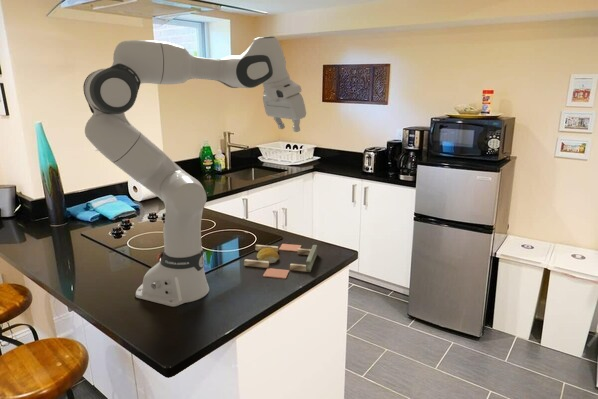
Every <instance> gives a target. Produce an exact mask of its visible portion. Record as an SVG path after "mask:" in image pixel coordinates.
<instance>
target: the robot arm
mask: <svg viewBox="0 0 598 399" xmlns="http://www.w3.org/2000/svg"><path fill="white" fill-rule="evenodd" d="M282 48H283V47H282V46H281V43H280V41H279V39H278V38H277V37H275V36H271V35H270V36H260V37H256V38H254V39H252V43H251V44H250V45H249V47H248V48H247V49H246V50H245V51H244V52H243V53H241V54H240V55H233V54H232V55H228V56H225V57H222V58H219V59H216V58H206V57H201V56H195V55H192V54H190V53H189V51H188V50H187V49H186V48H185V47H183V46H181V45H178V44H175V43H171V42H167V41H160V40H150V39H134V40H133V39H131V40H123V41H120V42H119V43H118V44H117V45H116V46H115V49H114V51H113V62H112V65H111V66H110V67H107V68H100V69H97V70H94V71H91V73H89V74H88V75H87V77H86V78H85V80H84V82H83V86H82V87H83V88H82V89H83V94H84V97H85V100H86V102H87V105H88V107H89V110H90V111H91V113H92V115H91V117H89V119H88V121H87V122H86V124H85V126H84V134H85V137H86V138H87V140H88V141H89V142H90V143H91V144H92V145H93V146H94V148H95V149H96V150H98V152H100V153H101V155H102V156H104V157H105V158H106V159H108V160H109V162H111V163H112V164H113V165H115V166H116V167H117V168H119V169H120V170H122V171H123V172H124V173H125V174H127V176H129V177H130V178H132V180H134V181H136V182H138V183H139V184H140V185H141V186H143V187H145V188H146V189H147V190H148V191H149V192H151V193H152V194H154V195H155V196H156V197H157V198H159V199H160V201H162V202H163V204H164V207H165V208H164V210H165V212H164V214H165V216H164V223H163V228H162V232H163V236H162V237H163V246H164V250H161V251H160V253H159V254H158V255H157V260H159V259H160V261H159V262H157V263H156V264H154V265H153V266H152V267H151V268H149V269H148V270H147V272H146V273H145V275H144V276H143V280H142V284H140V286H139V287H137V289H136V291H135V297H136V298H138V299H140V300H141V299H142V300H145V301H150V302H153V303H157V304H161V305H165V306H168V307H178V306H180V305H182V304H185V303H191V302H195V301H198V300H200V299H202V298H204V297H205V296H207V294H208V293H209V292H210V287H209V284H208V281H207V277H206V273H205V268H204V266H205V256H204V249H203V247H202V246H203V245H202V231H201V228H202V226H201V225H202V218H203V211H204V207H205V205H206V204H207V193H206V190H205V188H204V186H203V185H202V183H201V182H200V181H199V180H198V179H196V178H195V177H193V176H192V175H190V174H189V173H188V172H186V171H185V170H184V169H182V168H181V166H180V165H178V164H177V163H176V162H175V161H173V160H172V159H171V157H169V156H168V155H167V154H166V153H165V152H164V151H163V150H162V149H160V148H159V146H157V145H156V144H155V143H153V142H152V141H151V140H150V139H149V138H148V137H147V136H145V135H144V134H143V133H142V132H141V131H140V130H139V129H137V128H136V127H135V126H134V125H132V124H131V122H130V121H129V120H128V118H127V117H126V114H125V112H128V111H129V110H131V109H132V107H133V106H134V105H135V103H136V101H137V97H138V93H139V90H140V87H141V84H155V85H180V84H184V83H186V82H187V81H189V80H195V79H196V80H206V81H207V80H210V81H216V82H220V83H221V84H222V85H224V86H226V87H228V88H231V89H240V88H241V89H243V88H244V89H253V88H256V87H258V86H260V85H262V87H263V93H262V94H263V96H262V102H263V107H264V111H265V113H266V115H267V116H268V117H271V118H273V120H274V121H275V122H274V123H276V125H277V127H278V130H284V129H285V128H286V125H285V122H283V120H282V119H286V120H287V119H288V120H291V122H292V123H293V126H292V131H293V132H294V133H298V132H300V131H301V126H300V124H301V120H302V119H304V118H306V115H307V110H306V104H305V101H304V98H303V95H302V86H301V85H300V84H298V83H297V82H294V81H293V80H292V79H291V78H290V74H289V73H288V70H287V65H286V64H287V61H286V59H285V58H286V57H285V55H284V54H285V53H284V51H283V49H282Z"/></svg>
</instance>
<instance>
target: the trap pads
mask: <svg viewBox="0 0 598 399" xmlns="http://www.w3.org/2000/svg"><path fill="white" fill-rule="evenodd" d="M298 248H301V249H302V245H301V244H291V243H290V244H288V243H282V244H281V245H280V247H278V251H284V252H295V253H298ZM289 273H290V269H280V268H273V267H272V268H271V267H269V268H266V270H265V271H264V273H263V275H262V277H263V278H272V279H273V278H274V279H281V280H282V279H283V280H286V279H287V276H288V275H289Z"/></svg>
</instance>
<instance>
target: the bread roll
mask: <svg viewBox="0 0 598 399" xmlns="http://www.w3.org/2000/svg"><path fill="white" fill-rule="evenodd" d="M256 258H257V259H256V260H259V261H269V264H274V263H277V261H279V259H280V255H279V253H278V252H277V251H276V250H275V249H273V248H263V249H261V250H260V251H258V252H257V253H256Z"/></svg>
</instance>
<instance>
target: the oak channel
mask: <svg viewBox="0 0 598 399" xmlns="http://www.w3.org/2000/svg"><path fill="white" fill-rule="evenodd" d="M263 248H273V249H275V250H276V251H277V253H278V252H279V246H276V245H267V244H266V245H264V244H255V251H258V252H259V251H260V250H261V249H263ZM297 255H301V256H302V255H303V256H307V259H306V261H305V264H301V263H300V264H299V263H290V264H289V271H297V272H306V273H307V272H308V273H311V271H312V269H313V266H314V263H315V260H316V258H317V256H318V245H317V244H313V245H312V246H311V249H310V248H302V247H301V248H298V252H297ZM243 262H244V263H243V265H244V267H245V266H246V267H256V268H266V269H267V268H270V263H269V261H259V260H258V259H247V258H246V259H245V258H244V261H243Z"/></svg>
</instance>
